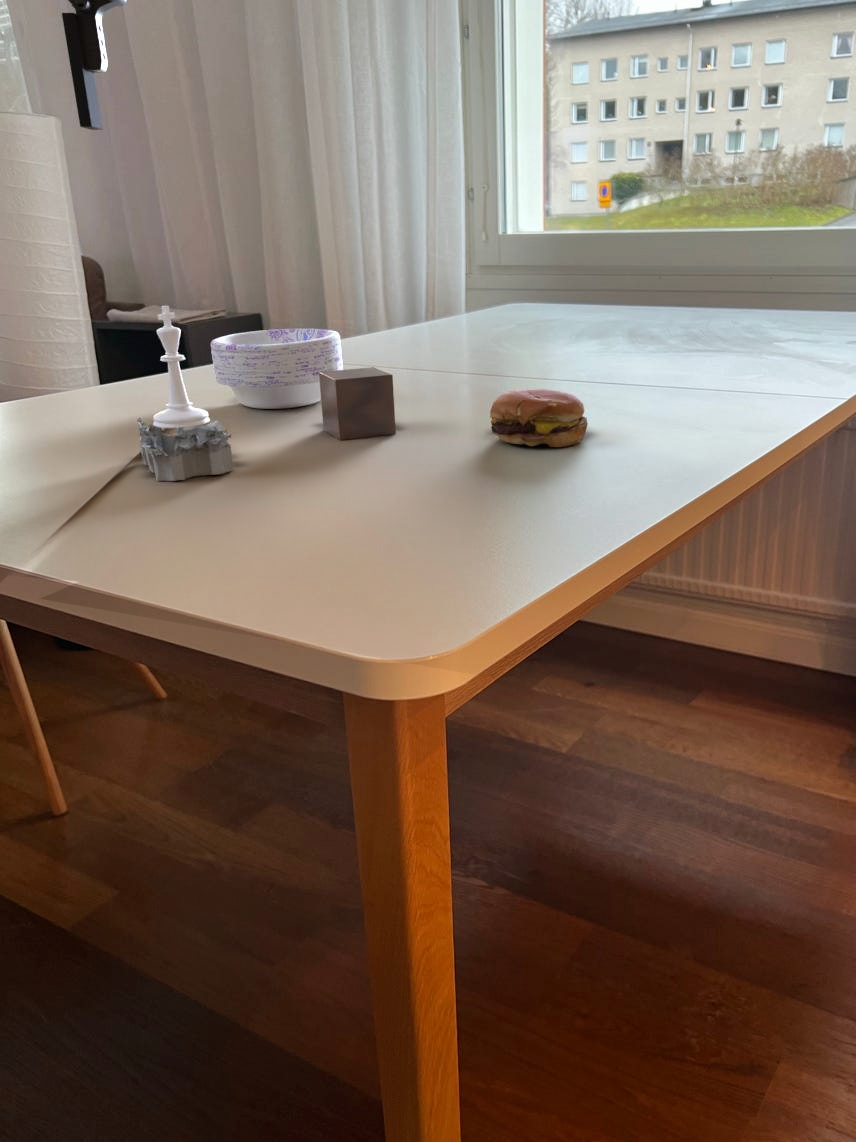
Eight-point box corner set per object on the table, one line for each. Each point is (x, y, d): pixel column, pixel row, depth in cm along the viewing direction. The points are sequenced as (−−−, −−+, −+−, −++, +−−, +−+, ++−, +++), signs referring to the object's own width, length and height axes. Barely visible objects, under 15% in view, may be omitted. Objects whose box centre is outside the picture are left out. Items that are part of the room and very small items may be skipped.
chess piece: (221, 419, 90) (206, 303, 86) (185, 429, 86) (168, 309, 82) (178, 416, 92) (161, 302, 88) (141, 426, 88) (122, 308, 84)
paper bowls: (194, 412, 116) (184, 342, 112) (255, 390, 129) (248, 327, 126) (314, 416, 112) (307, 343, 109) (364, 393, 125) (359, 328, 122)
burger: (540, 425, 104) (540, 380, 103) (605, 439, 98) (607, 391, 96) (468, 440, 99) (467, 393, 97) (532, 456, 92) (532, 405, 90)
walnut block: (340, 440, 100) (335, 379, 98) (323, 429, 105) (318, 371, 103) (396, 434, 102) (392, 374, 100) (377, 424, 107) (373, 367, 105)
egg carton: (140, 460, 94) (132, 417, 92) (220, 451, 97) (214, 409, 95) (152, 485, 85) (144, 437, 83) (240, 475, 88) (234, 428, 86)
